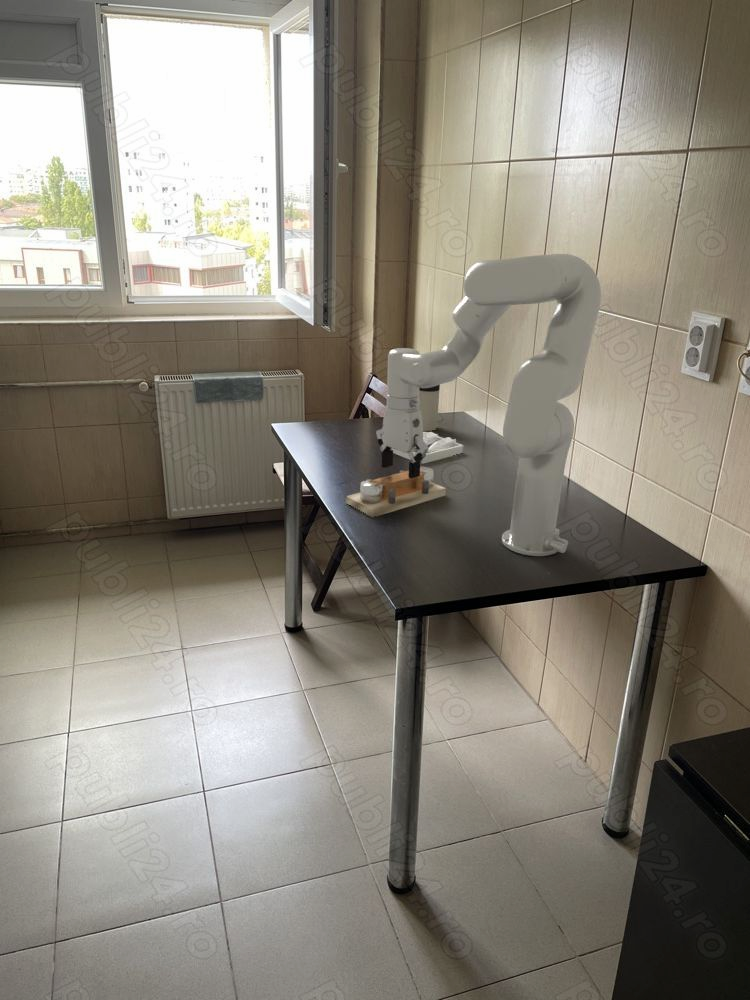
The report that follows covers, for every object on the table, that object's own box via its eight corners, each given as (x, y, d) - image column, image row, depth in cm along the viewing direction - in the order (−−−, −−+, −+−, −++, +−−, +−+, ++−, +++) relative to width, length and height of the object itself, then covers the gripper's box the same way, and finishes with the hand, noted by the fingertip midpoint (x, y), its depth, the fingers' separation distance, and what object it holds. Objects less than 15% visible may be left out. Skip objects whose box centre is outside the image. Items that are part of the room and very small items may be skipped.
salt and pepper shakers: (428, 441, 226) (401, 448, 220) (428, 429, 225) (401, 435, 218) (455, 452, 218) (428, 459, 211) (456, 439, 216) (428, 445, 210)
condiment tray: (462, 453, 216) (463, 445, 215) (420, 464, 206) (421, 455, 205) (424, 439, 227) (425, 431, 226) (383, 449, 217) (383, 440, 216)
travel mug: (410, 430, 236) (414, 375, 229) (413, 424, 243) (417, 370, 236) (435, 432, 235) (439, 377, 228) (437, 426, 242) (441, 372, 235)
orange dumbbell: (436, 486, 184) (438, 471, 183) (369, 505, 171) (370, 489, 169) (422, 480, 188) (423, 465, 186) (355, 498, 174) (356, 483, 173)
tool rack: (445, 495, 184) (446, 477, 182) (372, 517, 169) (373, 497, 168) (417, 483, 191) (419, 465, 189) (345, 503, 176) (346, 484, 175)
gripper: (440, 407, 167) (436, 478, 173) (390, 393, 179) (388, 460, 185) (416, 412, 162) (413, 484, 169) (366, 397, 175) (365, 465, 181)
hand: (400, 471), depth 177 cm, fingers open, 9 cm apart
